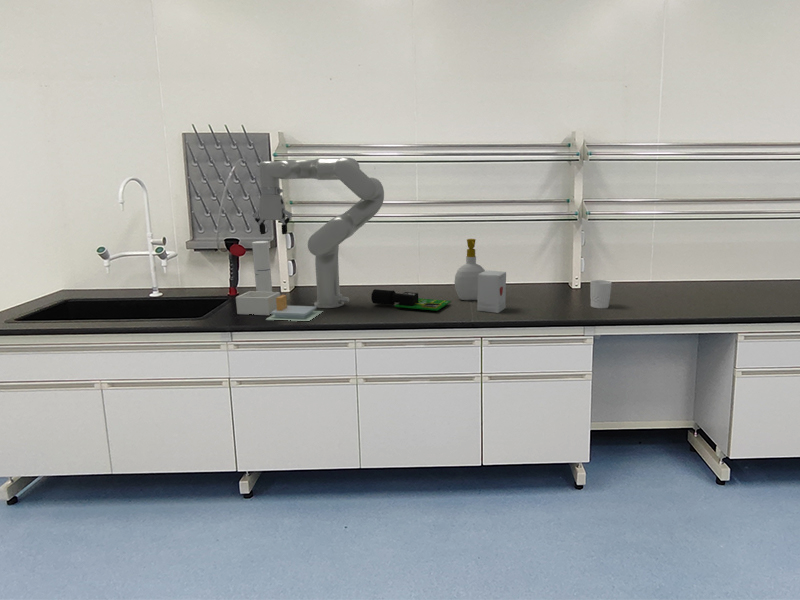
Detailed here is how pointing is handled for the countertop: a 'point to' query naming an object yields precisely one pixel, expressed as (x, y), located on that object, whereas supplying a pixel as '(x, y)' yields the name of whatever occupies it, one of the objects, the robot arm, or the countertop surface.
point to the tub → (257, 302)
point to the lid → (291, 309)
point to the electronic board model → (406, 300)
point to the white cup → (600, 293)
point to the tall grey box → (262, 266)
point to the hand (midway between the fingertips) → (273, 234)
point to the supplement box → (491, 291)
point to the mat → (308, 318)
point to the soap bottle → (468, 275)
